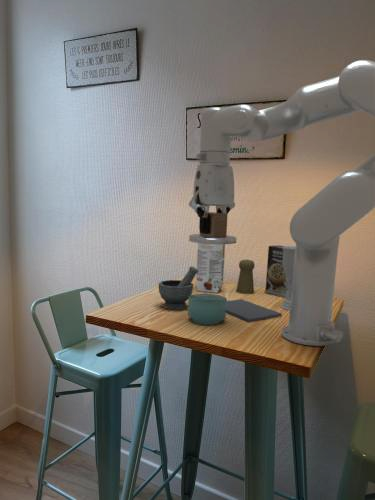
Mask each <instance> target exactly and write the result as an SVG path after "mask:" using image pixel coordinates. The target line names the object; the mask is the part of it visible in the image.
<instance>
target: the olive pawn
mask: <svg viewBox="0 0 375 500" xmlns="http://www.w3.org/2000/svg"><path fill="white" fill-rule="evenodd" d="M238 268H239V269H240V271H239V275H238V280H237V285H236V293H238V294H242V295H253V294H255V288H254V287H255V285H254V271H253V270H254V269H255V262H254V261H253V260H252V259H241V260H239V263H238ZM252 293H253V294H252Z"/></svg>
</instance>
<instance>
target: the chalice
mask: <svg viewBox="0 0 375 500" xmlns="http://www.w3.org/2000/svg"><path fill="white" fill-rule="evenodd" d="M283 246H284V247H282V249H283V263H282V264H283V268H284V271H285V274H286V276H287V278H289V279H290V283H289V285H288V286H289V291H288V293H289V296H288V298H285V299H284V300H283V302H282V304H281V306H280V308H281V309H283V310H284V309H285V310H288V311H290V304H291V291H292V278H293V266H294V256H295V248H296V246H293V245H292V246H291V245H289V246H288V245H283Z"/></svg>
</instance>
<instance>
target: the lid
mask: <svg viewBox="0 0 375 500" xmlns="http://www.w3.org/2000/svg"><path fill="white" fill-rule="evenodd" d="M228 214H229V213H228ZM228 214H225V213H216V211H213V212H212V211H209V212H208V217H207V218H209V233H208V234H203V233H200V232H199V233H196V234H195V233H193V234H190V235H189V236H188V242H191V243H196V244H198V243H203V244H225V245H233V244H236V243H237V236H233V235H227V233H228V216H229V215H228Z"/></svg>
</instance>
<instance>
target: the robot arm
mask: <svg viewBox="0 0 375 500" xmlns="http://www.w3.org/2000/svg"><path fill="white" fill-rule="evenodd" d="M361 112H367V113H368V114H371V115H373V116H374V117H375V61H372V60H368V59H359V60H356V61H353V62H351V63H349V64H348V65H347V66H345V67H344V68H343V70H342V71H341V73H340V74H339V76H335V77H331V78H328V79H325V80H321V81H318V82H315V83H310V84H307V85H304V86H302V87H300V88H299V89H297V90H296V92H294V94H292V96H291V97H290V98H289V99H287V100H286V101H283V102H281V103H279V104H277V105H274V106H271V107H267V108H263V109H259V110H258V109H257V108H255V107H254V106H251V105H250V104H246V103H245V104H243V103H242V104H236V105H232V106H227V107H217V106H216V107H207V108H205V109H203V110H202V112H201V118H200V119H201V120H200V143H199V144H200V145H199V147H200V148H199V153H197V154H196V160H199V164H197V168H196V172H195V175H194V181H193V182H194V183H193V193H192V194H193V195H192V198H191V199H190V201H189V203H188V206H189V207H190V208H191V209H192V210H193V211H194V212H195V213H196V215H197V217H198V218H199V223H198V224H199V226H198V228H199V234H200V233H203V234H208V233H209V218H207V217H208V212H210V208H211V207H210V206H212V207H214V206H215V212H216V213H225V214H229V213H230V211H231V210H232V209H234V208H235V207H236V203H235V177H234V176H235V175H234V169H233V166H232V165H231V166H230V160H231V146H232V145H231V144H232V137H236V138H238V139H243V140H244V141H247V142H252V143H253V142H260V141H265V140H269V139H272V138H276V137H280V136H283V135H286V134H289V133H293V132H294V131H298V130H301V129H304V128H306V127H308V126H311V125H315V124H319V123H322V122H327V121H330V120H335V119H338V118H339V119H340V118H343V117H346V116H350V115H354V114H358V113H361ZM374 209H375V152H374V153H373V154H372V155H371V156H370V157H369V158H367V159H366V160H365V161H364V162H363V163H362V164H360V165H359V166H358V167H356V168H355V169H350V170H349V169H348V170H347V171H345V172H343V173H341V174H339V175H338V176H337V177H336V178H334V179H333V180H331V181H330V182H329V183H328V184H327V185H326V186H325V187H324V188H322V189H321V190H320V191H318V192H317V194H315V195H313V197H312V198H310V199H309V200H308V201H307V202H306V203H304V205H302V206H301V207H299V209H297V211H295V213H294V214H293V216H292V217H291V219H290V221H289V233H290V237H291V239H292V240H293V242H294V243H295V247H296V248H295V256H294V266H293V278H292V291H291V304H290V310H289V320H288V325H286V326H284V327H283V328H281V335H282V337H283V338H284V339H285V340H288V341H290V342H293V343H295V344H299V345H303V346H309V347H310V346H312V347H325V346H331V345H333V344H336V343H338V344H339V343H340V342H341V341H342V338H343V337H344V333H343V332H342V331H340V330H336V328H335V327H336V322H334V321H332V316H333V314H332V313H333V305H334V304H333V303H334V292H335V283H336V273H337V272H336V271H337V261H338V254H339V253H338V251H339V244H340V238H341V235H342V234H343V233H345V232H346V231H347V230H349V229H350V228H352V227H353V226H354V225H355V224H356V223H357V222H358V221H360V220H361V219H363V218H364V217H366V216H367V215H368V214H369V213H370V212H371V211H373V210H374Z"/></svg>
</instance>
